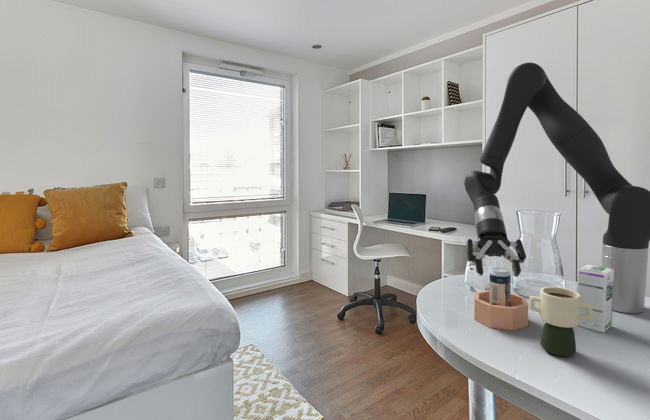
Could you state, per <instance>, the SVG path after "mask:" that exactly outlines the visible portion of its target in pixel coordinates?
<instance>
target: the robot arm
mask: <svg viewBox="0 0 650 420" xmlns="http://www.w3.org/2000/svg"><path fill="white" fill-rule="evenodd" d="M527 109H530V111H531V112H532V113H533V114H534V116H535V117H536V118H537V120H538V121H539V123H540V125H541V128H542V129H543V131H544V133H545V134H546V136H547V138H548V140H549V141H550V142H551V144H552V145H553V146H554V148H555V149H556V150H557V152H559V154H560V155H561V156H562V157H563V158H564V160H565V161H566V162H567V163H568V165H570V166H571V167H572V169H573V170H574V171H575V172H576V173H577V174H578V175H579V176H580V177H581V178H582V179H583V180H584V182H586V184H587V185H588V187H589V188H590V189H591V191H592V192H593V194H594V196H595V197H596V199H597V200H598V203H599V204H600V206H601V208H602V209H603V210H604V211H605V212H606V213H607V214H608V225H607V230H606V231H605V232H604V233H603V235H602V249H601V250H602V251H601V263H600V264H601V266H603V267H608V268H612V269H614V283H613V306H612V311H616V312H620V313H623V314H624V313H625V314H641V313H643V312H644V309H645V304H646V302H645V301H646V300H645V299H646V288H647V273H648V272H647V271H648V261H649V260H648V259H649V258H648V257H649V247H650V246H649V244H650V190H648V189H647V188H644V187H641V186H636V185H633V184H631V183H630V182H629V181H628V180H627V179H626V178H625V177H624V176H623V175H622V174H621V173H620V172H619V171H618V169H616V166H614V164H613V162H612V160H611V158H610V155H609V153H608V150H607V148H606V146H605V144H604V142H603V140H602V139H601V137H600V135H598V133H597V132H596V131H595V129H593V127H592V126H591V125H590V124H589V123H588V121H586V119H585V118H584V117H583V116H582V115H581V114H580V113H579V112H577V111H576V110H575V109H574V107H572V106H571V105H570V104H568V103H567V101H566V100H564V99H563V97H562V96H560V94H559V92H557V90H556V89H555V87H554V86H553V84H552V82H551V81H550V79H549V77H548V75H547V73H546V72H545V70H544V69H543V67H542V66H541V65H539V64H537V63H535V62H524V63H521V64H519V65H517V66H516V67H514V68H513V69H512V70H511V72H510V73H509V75H508V77H507V81H506V86H505V91H504V95H503V100H502V102H501V106H500V109H499V112H498V115H497V118H496V121H495V122H494V124H493V126H492V129H491V132H490V133H489V137H488V139H487V140H486V143H485V145H484V148H483V150H482V153H481V156H480V158H479V160H480V163H481V164H482V165H484V166H486V167H488V168H489V169H490V171H489V172H485V171H480V170H479V171H478V170H471V171H469V172H468V173H467V174H466V176H465V177H464V189H465V191H466V193H467V196H468V197H469V199H470V201H471V203H472V204H473V209H474V225H475V228H476V229H475V230H476V236H477V241H476V240H473V239H471V238H468V239H467V242H466V258H467V261H468V262H473V263H474V264H475V271H476V273H477V274H478V275H479V276H484V275H483V274H484V268H483V267H484V266H483V261H482V260H483V259H484V258H485V257H486V256H488V257H497V258H498V257H503V258H504V259H506V261H507V260H508V261H509V262H510V263H511V267H512V273H513V276H514V278H515V277H516V278H518V277H519V276H520V274H521V272H522V268H521V264H523V263H524V262H525V261H526V259H527V255H526V251H525V248H524V245H523V243H522V240H521V239H516V241H510V240H509V239H508V234H507V230H506V224H505V221H504V216H503V213H502V211H501V207H500V203H499V199H498V197H497V196H496V194H497V193H498V192H499V190H500V189H501V185H502V177H503V172H504V171H503V170H504V167H505V166H504V165H505V163H506V160H507V159H508V155H510V151H511V148H512V147H513V144H514V141H515V139H516V136H517V132H518V130H519V126H520V124H521V121H522V118H523V116H524V114H525V113H526V110H527ZM476 246H477V248H479V252H478V253H477V255H475V254H474V249H475V247H476ZM510 247H512V249H513V250H515V252H516V253H514V251H513V250H512V249H511V248H510Z"/></svg>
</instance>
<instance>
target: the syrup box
mask: <svg viewBox="0 0 650 420" xmlns="http://www.w3.org/2000/svg"><path fill="white" fill-rule="evenodd" d="M576 278H577V280H576V281H577V282H576V292H578V293H579V294H580V295H581V303H582V304H589V305H591V306H592V308H593V311H592V319H591V320H584V319H580V322H579V324H578V326H577V327H581V328H584V329H587V330H592V331H595V332H598V333H602V334H604V333H605V332H606V331H608V329H610V328H611V327H612V326H613V324H612V323H613V322H612V321H613V310H612V306H613V283H614V269H612V268H608V267H603V266H600V265H596V264H595V265H594V264H585V265H584V266H581V267H580V268H578V269H577V277H576ZM586 310H587V309H585V308H581V315H586Z"/></svg>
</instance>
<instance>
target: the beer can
mask: <svg viewBox="0 0 650 420" xmlns="http://www.w3.org/2000/svg"><path fill="white" fill-rule="evenodd" d="M511 276H512V275H511V273H510V271H509V269H508V268H503V267H493V268H491V269H490V271H489V290H490V304H491V305H498V306H506V307H510V292H511V280H512V279H511Z"/></svg>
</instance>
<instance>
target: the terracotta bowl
mask: <svg viewBox="0 0 650 420" xmlns="http://www.w3.org/2000/svg"><path fill="white" fill-rule="evenodd" d="M473 317H474V318H473V319H474V320H475V321H476V322H478V323H481V324H482V325H484V326H486V327H488V328H490V329H491V328H492V329H499V330H507V331H516V330H520V329H525V328H527V327H528V324H529V319H528V318H529V302H528V300H527V298H526V297H524V296H521V295H519V294H516V293H513V292H512V291H510V307H506V306H498V305H491V304H490V289H487V290H481V291H476V292H474V316H473Z"/></svg>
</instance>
